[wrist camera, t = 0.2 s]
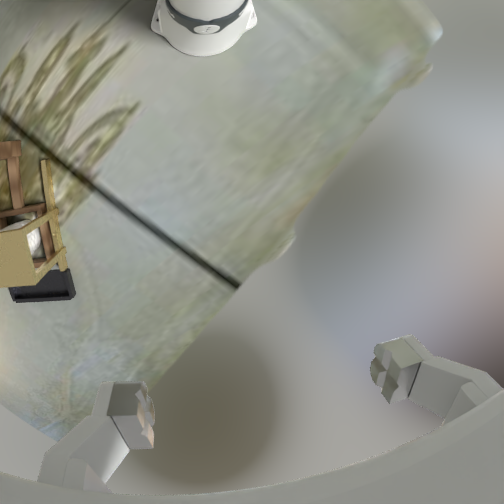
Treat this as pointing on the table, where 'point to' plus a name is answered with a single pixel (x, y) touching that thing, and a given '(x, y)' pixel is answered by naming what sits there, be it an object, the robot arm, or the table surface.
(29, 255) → the tunnel
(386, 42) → the table surface
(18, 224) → the white cup
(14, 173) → the wooden frame with handle
